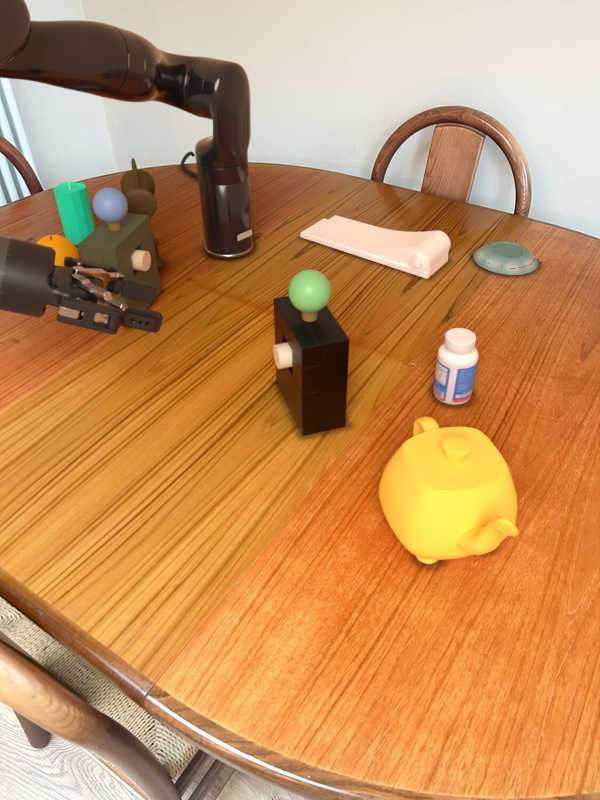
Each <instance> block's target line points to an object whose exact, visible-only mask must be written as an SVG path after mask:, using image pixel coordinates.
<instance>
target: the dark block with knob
mask: <svg viewBox="0 0 600 800" xmlns="http://www.w3.org/2000/svg"><path fill="white" fill-rule="evenodd" d="M287 289H288V290H287V291H288V293H287V295H286V296H285V295H284V296H281V297H274V298H273V301H272V302H273V324H274V345H276V344H281V343H286V342H288V344H289V346H290V348H291V349H292V367H288V368H283V369H278V368H277V366H276V365H275V377H276V385H277V387H278V389H279V391H280V392H281V394H282V397H283V399H284V401H285V403H286V406H287V407H288V409H289V411H290V414H291V416H292V418H293V420H294V422H295V424H296V425H297V428H298V430H299V432H300V434H301V436H302V437H305V436H310V435H315V434H319V433H324V432H328V431H331V430H337V429H341V428H345V427H346V415H347V397H348V377H349V357H350V355H349V354H350V338H349V336H348V335H347V333H346V332H345V330H344V329H343V327H342V326H341V325H340V324H339V322H338V320H337V319H336V317H335V316H334V314H333V313H332V311H331V310H330V309H329V306H327V305H328V303H329V302H330V299H331V297H332V287H331V283H330V281H329V279H328V278H327V276H326V275H325V274H324V273H322V272H321V271H320V270H316V269H312V268H311V269H310V268H309V269H303V270H301V271H299V272H296V274H295V275H294V276H293V277H292V278H291V279H290V282H289V285H288V288H287Z"/></svg>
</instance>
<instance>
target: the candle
mask: <svg viewBox="0 0 600 800" xmlns="http://www.w3.org/2000/svg"><path fill="white" fill-rule="evenodd" d="M53 194H54V198H55V202H56V206H57V210H58V213H59V218H60V221H61V227H62V229H63V233H64V237H65V238H67V239H69V240H70V241H71V242H72V243H73V244H74V245H75V246H79V243H80V242H81V241H82V240H83V239H84V238H86V237H87V236H88V235H89V234H90V233H91V232H93V231H94V230H95V229H96V225H95V219H94V216H93V212H92V207H91V202H90V198H89V193H88V189H87V186H86V184H85V183H84V182H75V181H69V178H67V181H65V182H62V183H59V184H57V185H55V186H54V188H53Z"/></svg>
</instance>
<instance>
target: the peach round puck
mask: <svg viewBox="0 0 600 800" xmlns="http://www.w3.org/2000/svg"><path fill="white" fill-rule="evenodd" d="M130 257H131V262H132V267H133V270H139V271H148V269H149V268H150V264H151V256H150V253H149V252H148V251H143V250H134V251H133V252H132V253H131V254H130Z"/></svg>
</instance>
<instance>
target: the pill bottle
mask: <svg viewBox="0 0 600 800" xmlns="http://www.w3.org/2000/svg"><path fill="white" fill-rule="evenodd" d="M443 342H444V343H442V345H440V346H439V347H438V349H437V356H436V362H435V370H434V378H433V385H432V393H433V396H434V398H436V399H437V400H438V401H440V402H441V403H442V404H443V403H444V404H446V405H450V406H451V405H453V406H459V405H463V404H465V403H467V402H469V401H470V399H471V398H472V395H473V390H474V386H475V381H476V376H477V375H476V374H477V369H478V363H479V351H478V349H477V348H476V342H477V336H476V334H475V333H474V332H473V331H472V330H470V329H468V328H464V327H454V328H451V329H448V330H447V331H446V332H445V334H444V340H443Z"/></svg>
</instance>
